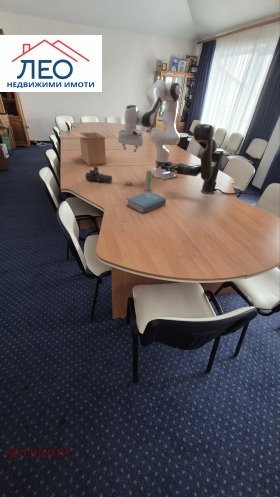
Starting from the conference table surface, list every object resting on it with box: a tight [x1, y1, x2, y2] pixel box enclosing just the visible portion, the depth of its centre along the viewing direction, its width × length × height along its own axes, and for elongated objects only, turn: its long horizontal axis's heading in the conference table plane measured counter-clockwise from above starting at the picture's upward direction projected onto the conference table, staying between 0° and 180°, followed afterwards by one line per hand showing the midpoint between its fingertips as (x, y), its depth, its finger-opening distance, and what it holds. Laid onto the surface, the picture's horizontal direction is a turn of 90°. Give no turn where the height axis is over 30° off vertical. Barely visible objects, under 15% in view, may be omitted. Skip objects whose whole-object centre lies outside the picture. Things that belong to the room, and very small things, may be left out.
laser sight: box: [85, 166, 113, 184], centre depth 187 cm, size 10×22×10 cm, turn 78°
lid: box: [125, 180, 133, 186], centre depth 188 cm, size 5×5×2 cm
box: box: [70, 129, 114, 166], centre depth 229 cm, size 44×36×27 cm
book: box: [126, 190, 167, 214], centre depth 156 cm, size 23×16×5 cm
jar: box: [144, 169, 153, 192], centre depth 176 cm, size 4×4×16 cm
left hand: (129, 150), depth 173 cm, fingers open, 8 cm apart
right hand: (163, 165), depth 165 cm, fingers open, 8 cm apart
